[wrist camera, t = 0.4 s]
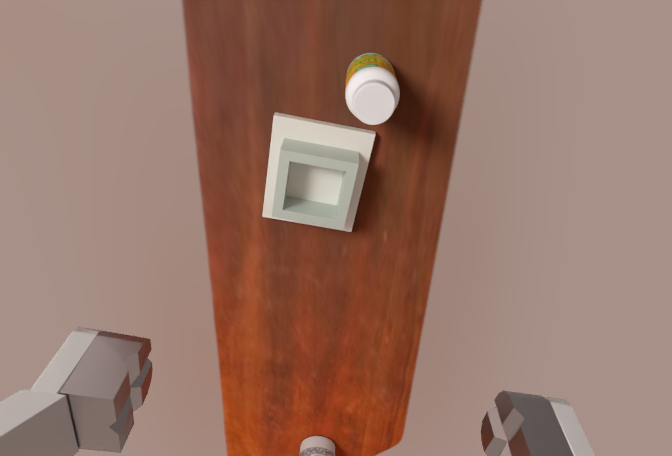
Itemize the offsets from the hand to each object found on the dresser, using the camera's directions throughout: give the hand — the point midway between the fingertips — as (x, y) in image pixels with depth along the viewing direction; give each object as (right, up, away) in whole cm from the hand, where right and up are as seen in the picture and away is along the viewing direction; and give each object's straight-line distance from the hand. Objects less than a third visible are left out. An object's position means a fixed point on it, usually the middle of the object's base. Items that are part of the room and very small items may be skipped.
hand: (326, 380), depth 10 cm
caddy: (-2, +10, +46) cm, 47 cm away
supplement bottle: (+4, +20, +39) cm, 44 cm away
